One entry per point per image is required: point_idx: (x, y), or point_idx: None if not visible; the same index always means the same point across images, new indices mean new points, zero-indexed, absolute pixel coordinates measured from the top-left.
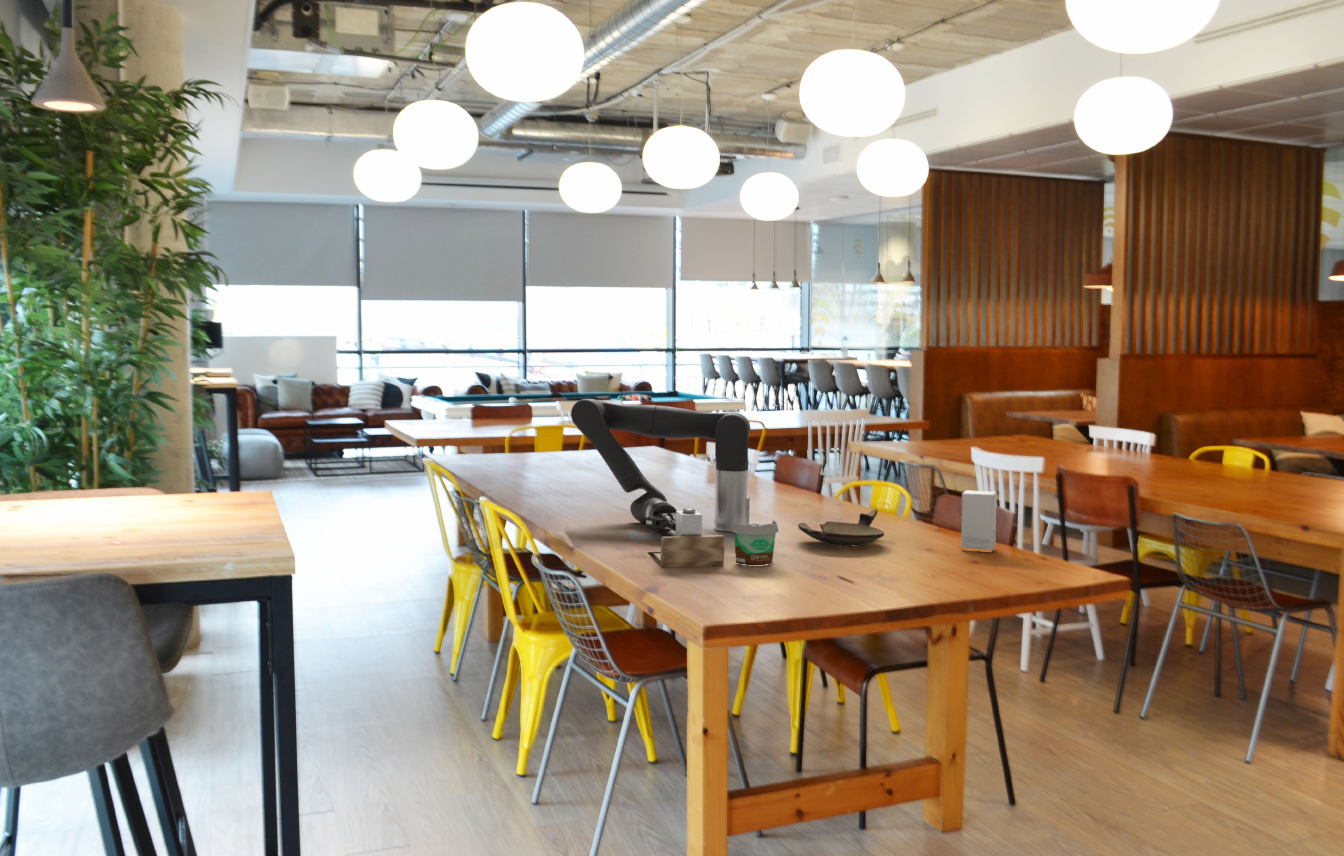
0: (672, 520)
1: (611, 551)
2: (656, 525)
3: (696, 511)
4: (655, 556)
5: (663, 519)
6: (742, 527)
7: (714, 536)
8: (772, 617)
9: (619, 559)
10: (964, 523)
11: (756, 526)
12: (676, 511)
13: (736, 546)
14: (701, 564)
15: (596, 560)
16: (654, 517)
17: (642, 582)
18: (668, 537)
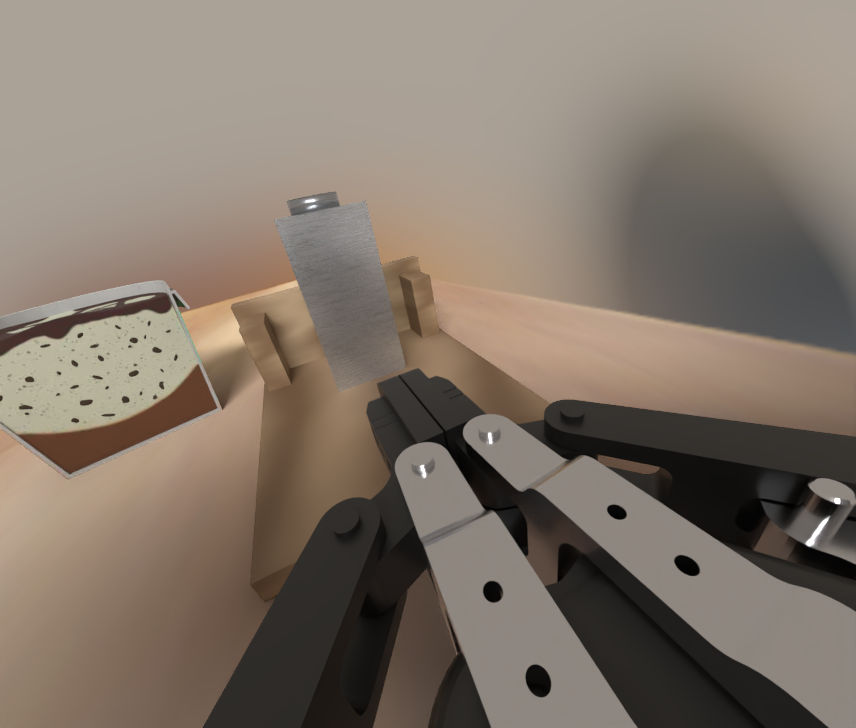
0: (464, 440)
1: (717, 388)
2: (657, 478)
3: (279, 218)
4: (466, 349)
5: (562, 411)
6: (157, 288)
7: (265, 295)
8: (289, 283)
9: (576, 336)
10: None
11: (113, 289)
12: (364, 203)
13: (198, 357)
14: None
15: (625, 314)
16: (812, 487)
17: (438, 285)
18: (400, 259)
